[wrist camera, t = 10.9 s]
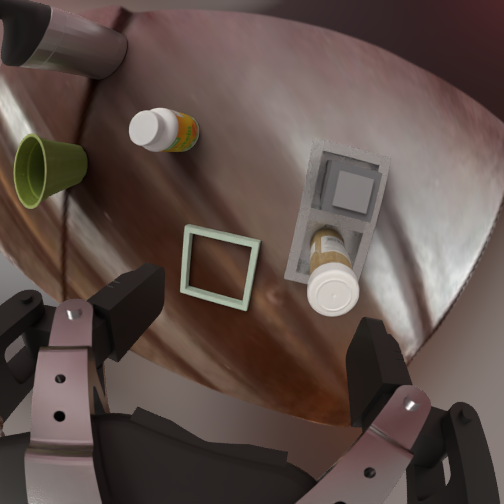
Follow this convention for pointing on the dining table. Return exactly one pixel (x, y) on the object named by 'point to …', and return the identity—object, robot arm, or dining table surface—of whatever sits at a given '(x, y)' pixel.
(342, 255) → the sprinkles bottle
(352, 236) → the divided grey caddy
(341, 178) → the grey stepped square plug
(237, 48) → the dining table surface
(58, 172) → the plant pot
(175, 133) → the supplement bottle
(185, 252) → the tray frame
